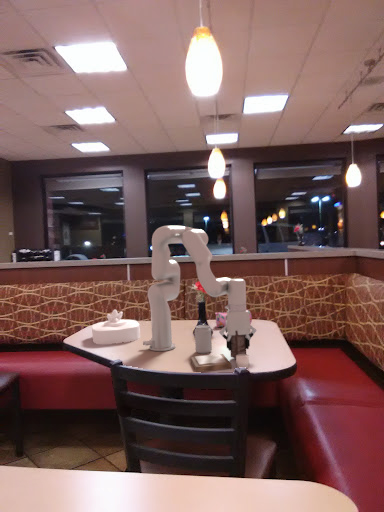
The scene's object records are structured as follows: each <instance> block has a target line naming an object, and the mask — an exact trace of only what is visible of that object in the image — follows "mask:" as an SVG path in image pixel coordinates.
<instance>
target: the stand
mask: <svg viewBox="0 0 384 512" xmlns="http://www.w3.org/2000/svg"><path fill="white" fill-rule="evenodd" d="M190 362H191V364H192V366H193V369H194V371H195V372H196V373H199V372H200V373H201V372H212V371H219V370H220V371H221V370H222V371H223V370H229V369H230V370H231V369H232V363H231V362H230V361H229V360H228V358H227V356H225V354H223V353H218V354H206V355H197V356H196V355H195V356H190Z"/></svg>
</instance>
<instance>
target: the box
mask: <svg viewBox="0 0 384 512" xmlns="http://www.w3.org/2000/svg"><path fill="white" fill-rule="evenodd" d="M235 333H236V335H235V336H232V337H231V339H230V341H231V350H230V358H232V359H233V358H234V359H236V355H238V354H247V349H246V335H238V331H235Z"/></svg>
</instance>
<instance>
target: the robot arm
mask: <svg viewBox="0 0 384 512" xmlns="http://www.w3.org/2000/svg"><path fill="white" fill-rule="evenodd" d="M151 237H152V238H151V246H152V250H151V251H152V252H151V253H152V254H151V276H152V278H153V279H154V280H155V281H162V282H157V283H154V284H152V285H151V286H149V288H148V290H147V297H148V301H149V307H150V308H149V309H150V323H151V339H149V340H143V341H142V345H143V346H145V347H146V346H149V347H148V348H149V350H150V351H153V352H166V351H167V352H168V351H171V350H174V349H175V348H176V344H175V343H174V342H173V338H172V337H173V336H172V335H173V334H172V317H171V316H172V315H171V308H170V306H169V303H168V302H169V301H174V300H176V299H177V298H178V296H179V294H180V288H181V287H180V286H181V266H180V265H179V262H177V261H176V260H174V259H170V257H171V250H170V247H169V245H171V244H172V245H173V244H182V245H183V246H184V248H185V250H186V251H187V252H188V254H189V256H190V257H191V259H192V260H193V262H194V264H195V267H196V276H197V278H198V281H199V283H200V285H201V287H202V288H203V290H204V292H206V294H207V295H209V296H210V297H212V298H218V297H220V296H224V295H227V305H225V306H224V309H225V310H227V311H226V313H227V315H226V326H225V327H221V329H220V330H219V331H218V333H219V334H220V335H221V337H222V338H223V339H224V340H226V349H227V350H228V351H229V352H231V341H230V339H231V337H232V336H235V335H236V333H235V331H238V335H246V350H250V349H249V347H250V346H251V345H250V344H251V343H250V342H251V341H250V340H251V339H252V337H254V334H255V333H256V332H257V329H256V328H255V327H253V326H252V324H250V318H249V312H248V311H249V310H248V309H247V289H246V287H247V286H246V285H247V283H246V280H245V279H243V278H229V277H218V278H216V276H215V274H213V272H212V269H211V265H210V263H211V260H212V259H213V253H212V252H211V251H210V249H209V247H208V246H207V245H208V242H209V236H208V234H207V233H206V231H204V230H203V229H201V228H200V229H199V228H193V227H189V226H184V225H163V226H160V227H158V228H156V229H155V231H154V232H153V233H152V236H151ZM247 310H248V311H247ZM225 333H226V334H225Z"/></svg>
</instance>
